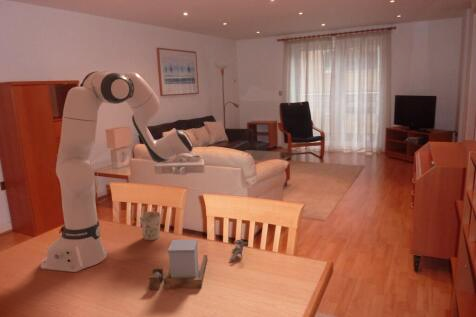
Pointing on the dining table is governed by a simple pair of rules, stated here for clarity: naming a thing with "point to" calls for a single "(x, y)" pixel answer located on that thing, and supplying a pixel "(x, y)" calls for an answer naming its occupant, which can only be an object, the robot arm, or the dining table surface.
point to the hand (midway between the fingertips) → (176, 172)
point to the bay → (176, 279)
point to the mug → (150, 225)
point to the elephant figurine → (238, 249)
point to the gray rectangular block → (184, 259)
